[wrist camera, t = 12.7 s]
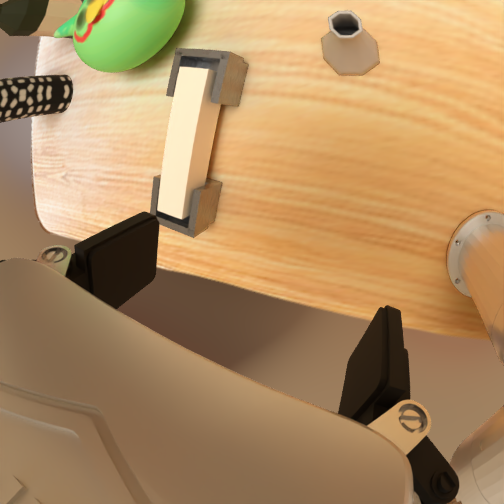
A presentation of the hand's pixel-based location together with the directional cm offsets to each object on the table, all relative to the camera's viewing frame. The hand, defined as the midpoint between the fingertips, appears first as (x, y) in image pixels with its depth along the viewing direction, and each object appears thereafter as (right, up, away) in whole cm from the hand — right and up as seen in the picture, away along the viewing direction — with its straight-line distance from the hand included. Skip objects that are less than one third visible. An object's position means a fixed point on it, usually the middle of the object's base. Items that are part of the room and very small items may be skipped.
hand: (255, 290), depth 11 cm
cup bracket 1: (-5, +24, +24) cm, 35 cm away
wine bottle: (-32, +46, +26) cm, 62 cm away
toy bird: (-15, +37, +23) cm, 46 cm away
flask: (+12, +26, +17) cm, 33 cm away
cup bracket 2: (-8, +10, +32) cm, 35 cm away
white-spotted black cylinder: (-39, +34, +34) cm, 62 cm away
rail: (-7, +16, +26) cm, 32 cm away
